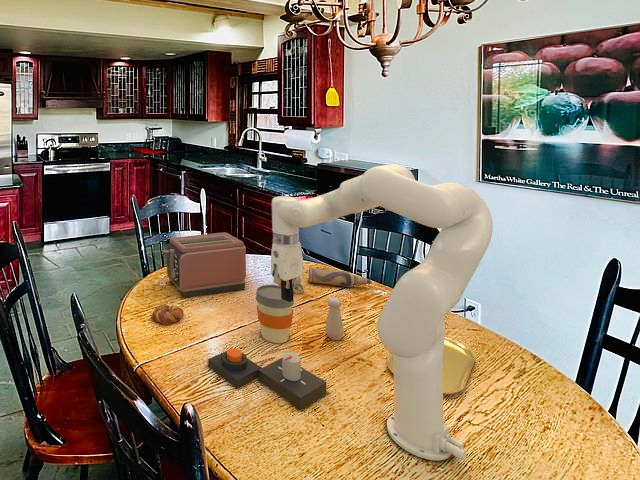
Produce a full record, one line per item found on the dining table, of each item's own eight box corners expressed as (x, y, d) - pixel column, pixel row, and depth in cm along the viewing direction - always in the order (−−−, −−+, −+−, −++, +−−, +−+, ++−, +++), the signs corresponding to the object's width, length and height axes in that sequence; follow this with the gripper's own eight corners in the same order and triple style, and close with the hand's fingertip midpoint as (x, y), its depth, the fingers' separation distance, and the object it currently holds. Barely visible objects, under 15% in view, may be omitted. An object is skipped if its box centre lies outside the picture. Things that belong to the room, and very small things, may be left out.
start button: (245, 359, 116) (245, 353, 116) (234, 364, 113) (234, 358, 113) (234, 352, 119) (234, 346, 119) (223, 357, 117) (223, 351, 117)
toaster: (157, 283, 181) (156, 238, 181) (228, 273, 191) (227, 231, 192) (170, 301, 162) (170, 251, 162) (248, 289, 173) (248, 242, 173)
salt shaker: (346, 342, 131) (345, 303, 131) (327, 340, 132) (327, 301, 132) (341, 333, 136) (341, 295, 137) (323, 331, 138) (323, 294, 138)
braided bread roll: (178, 309, 155) (178, 300, 155) (187, 323, 144) (187, 312, 144) (148, 313, 152) (148, 303, 152) (155, 327, 141) (155, 317, 141)
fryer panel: (326, 393, 106) (326, 381, 106) (300, 409, 100) (300, 397, 100) (284, 366, 118) (283, 356, 118) (258, 380, 112) (258, 369, 112)
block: (261, 375, 114) (261, 361, 114) (236, 388, 108) (236, 373, 109) (232, 355, 124) (232, 342, 124) (208, 366, 118) (207, 352, 118)
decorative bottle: (308, 285, 177) (308, 270, 177) (308, 279, 184) (308, 264, 185) (373, 292, 169) (373, 277, 169) (370, 286, 176) (370, 271, 176)
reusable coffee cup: (298, 333, 137) (298, 289, 137) (288, 350, 126) (287, 303, 127) (263, 323, 144) (263, 281, 144) (250, 338, 134) (250, 294, 134)
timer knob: (289, 367, 112) (289, 349, 113) (304, 376, 109) (304, 357, 109) (278, 374, 110) (278, 354, 110) (293, 383, 106) (293, 363, 106)
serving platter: (377, 375, 114) (377, 370, 114) (411, 330, 138) (411, 326, 138) (458, 409, 100) (457, 402, 100) (479, 352, 124) (479, 347, 124)
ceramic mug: (275, 288, 174) (275, 271, 174) (285, 283, 179) (285, 266, 179) (298, 297, 166) (298, 278, 166) (307, 291, 171) (307, 273, 171)
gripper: (280, 245, 112) (281, 311, 111) (311, 236, 120) (313, 297, 120) (259, 240, 118) (260, 302, 117) (290, 231, 126) (292, 289, 126)
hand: (287, 299), depth 118 cm, fingers closed
